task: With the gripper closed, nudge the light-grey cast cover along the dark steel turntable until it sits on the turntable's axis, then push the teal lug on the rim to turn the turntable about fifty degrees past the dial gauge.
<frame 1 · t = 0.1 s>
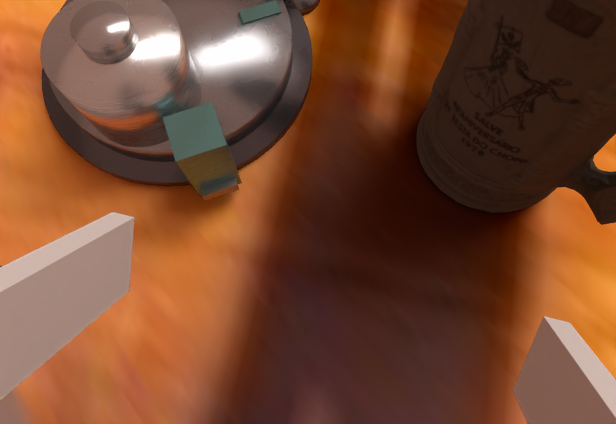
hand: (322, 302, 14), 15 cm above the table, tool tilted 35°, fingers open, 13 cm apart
cast cover: (144, 95, 31), point 3 cm above the table, touching turntable
turntable: (171, 48, 31), point 4 cm above the table, hinge at 0.0°, touching cast cover
beer stein: (502, 162, 32), on the table
base plate: (180, 64, 35), on the table
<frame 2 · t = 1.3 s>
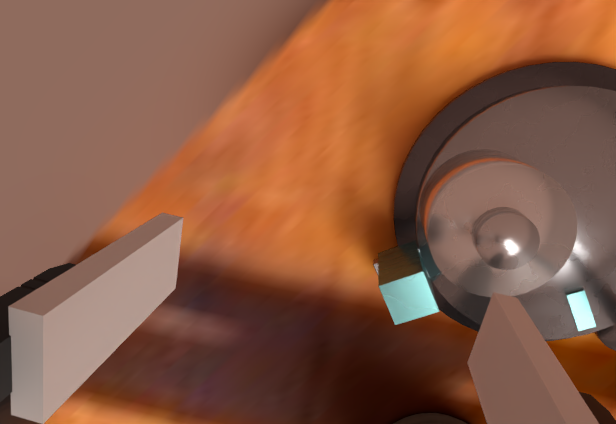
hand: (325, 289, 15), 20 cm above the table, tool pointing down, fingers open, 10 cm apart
cast cover: (478, 207, 30), point 3 cm above the table, touching turntable
turntable: (531, 237, 29), point 4 cm above the table, hinge at 0.0°, touching cast cover
base plate: (537, 211, 32), on the table
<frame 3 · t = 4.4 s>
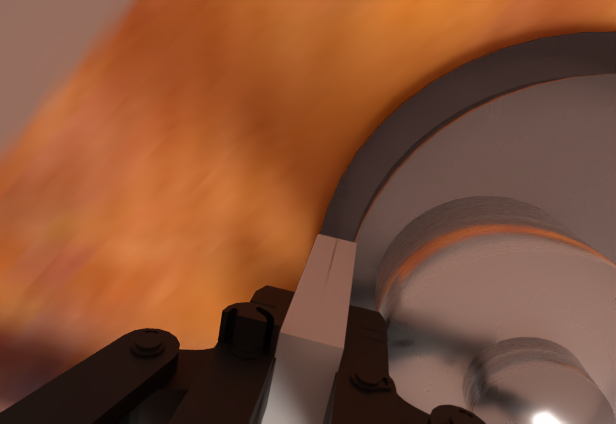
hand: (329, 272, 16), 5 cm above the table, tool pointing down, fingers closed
cast cover: (478, 294, 17), point 3 cm above the table, touching gripper
turntable: (539, 345, 16), point 4 cm above the table, hinge at 0.0°
base plate: (548, 284, 20), on the table
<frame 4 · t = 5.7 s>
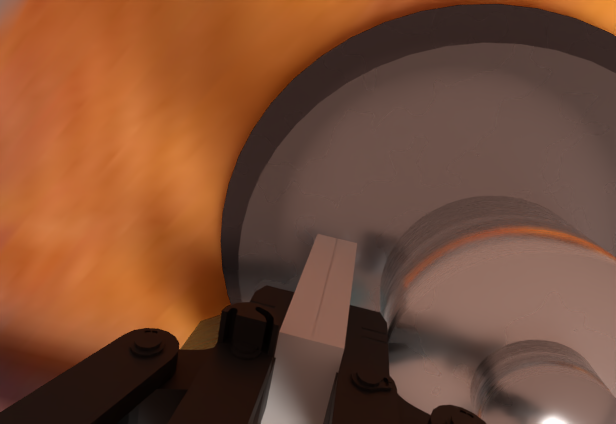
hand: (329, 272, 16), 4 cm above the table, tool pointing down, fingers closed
cast cover: (484, 295, 17), point 3 cm above the table, touching gripper, turntable
turntable: (420, 315, 16), point 4 cm above the table, hinge at -0.2°, touching cast cover
base plate: (449, 260, 20), on the table
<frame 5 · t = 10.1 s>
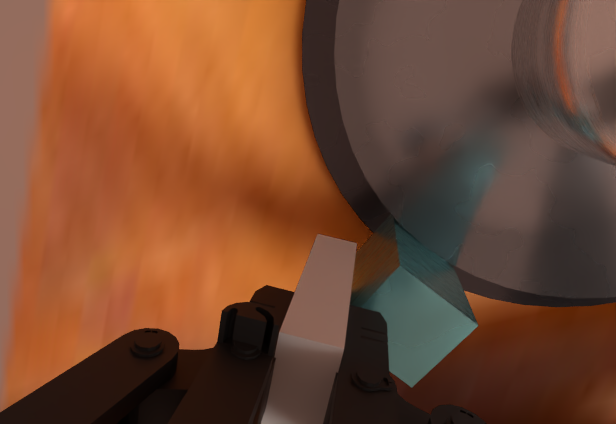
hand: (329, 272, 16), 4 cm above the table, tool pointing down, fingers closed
turntable: (585, 91, 14), point 4 cm above the table, hinge at -0.1°, touching cast cover, gripper
base plate: (574, 51, 17), on the table
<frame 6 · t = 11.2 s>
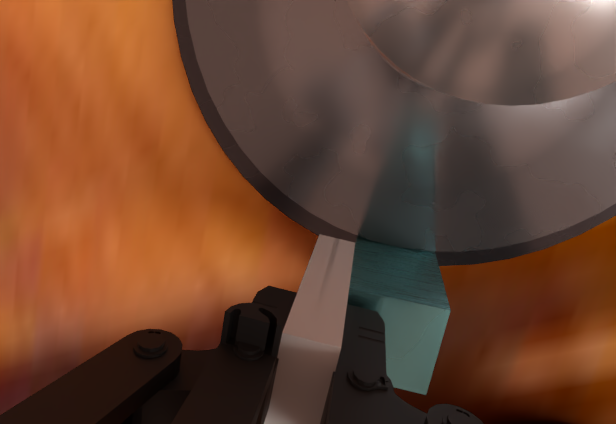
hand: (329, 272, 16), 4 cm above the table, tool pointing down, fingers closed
turntable: (446, 40, 13), point 4 cm above the table, hinge at 28.0°, touching cast cover, gripper
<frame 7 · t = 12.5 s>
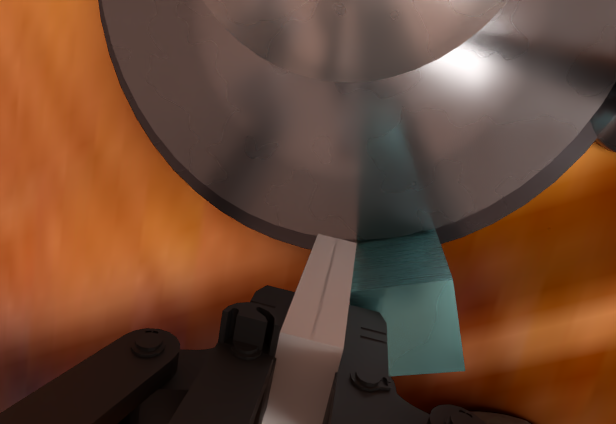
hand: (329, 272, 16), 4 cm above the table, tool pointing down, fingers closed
turntable: (360, 33, 14), point 4 cm above the table, hinge at 48.1°, touching cast cover, gripper
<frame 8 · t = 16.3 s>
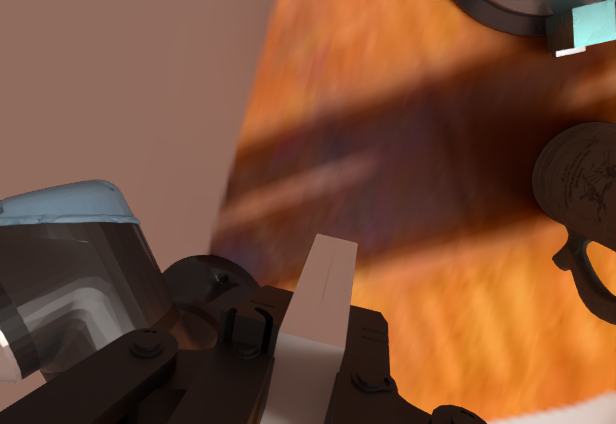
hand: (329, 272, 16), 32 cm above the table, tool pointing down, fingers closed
beer stein: (579, 189, 45), on the table
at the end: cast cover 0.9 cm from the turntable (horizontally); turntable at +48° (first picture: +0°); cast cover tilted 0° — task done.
